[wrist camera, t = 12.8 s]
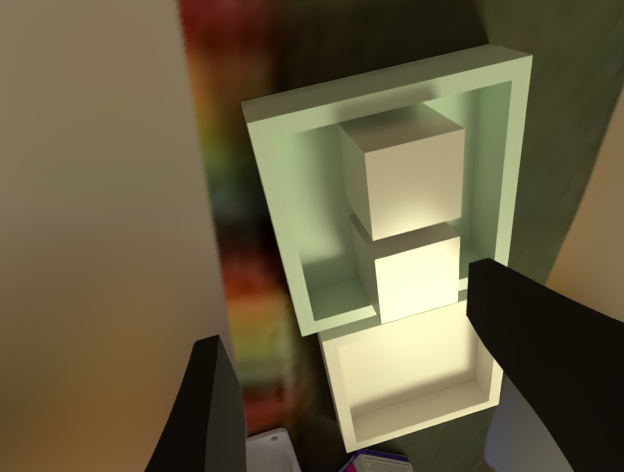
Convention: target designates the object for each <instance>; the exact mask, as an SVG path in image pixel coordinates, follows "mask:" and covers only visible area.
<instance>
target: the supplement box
mask: <svg viewBox="0 0 624 472" xmlns="http://www.w3.org/2000/svg"><path fill="white" fill-rule="evenodd" d="M338 472H414V471H413V469H412V466H411V464H410V461H409V458H408V457H407V456H403V455H397V454H391V453H385V452H379V451H374V450H369V449H362V448H361V449H358V450H357V451H356V452H355V454H354V455H353V456H352V457H351V458H350V460H349V461H348V462H347V463H346V464H345V465H344V466H343V467H342V468H341V469H340V470H339V471H338Z"/></svg>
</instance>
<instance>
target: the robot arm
mask: <svg viewBox="0 0 624 472" xmlns="http://www.w3.org/2000/svg"><path fill="white" fill-rule="evenodd" d="M466 316H467V317H468V319H469V321H470V323H471V324H472V326H473V328H474V330H475V331H476V333H477V335H478V336H479V338H480V340H481V341H482V343H483V345H484V346H485V347H486V349H487V350H488V351H489V353H490V354H491V355H492V357H493V358H494V359H495V361H496V362H497V363H498V364H499V366H500V367H501V368H502V370H503V371H504V372H505V374H506V375H507V376H508V377H509V379H510V380H511V381H512V382H513V384H514V385H515V386H516V388H517V389H518V390H519V391H520V393H521V394H522V395H523V397H524V398H525V399H526V400H527V402H528V403H529V404H530V406H531V407H532V408H533V409H534V411H535V412H536V414H537V415H538V416H539V418H540V419H541V420H542V422H543V423H544V425H545V426H546V428H547V429H548V431H549V432H550V434H551V435H552V437H553V439H554V440H555V442H556V443H557V445H558V447H559V448H560V450H561V451H562V453H563V454H564V456H565V457H566V459H567V460H568V462H569V464H570V466H571V467H572V469H573V471H574V472H624V323H623V322H621V321H618V320H616V319H614V318H611V317H609V316H606V315H604V314H602V313H600V312H598V311H595V310H593V309H591V308H588V307H586V306H584V305H582V304H580V303H578V302H576V301H573V300H571V299H569V298H567V297H565V296H563V295H561V294H559V293H557V292H555V291H553V290H551V289H549V288H547V287H545V286H543V285H541V284H539V283H537V282H535V281H533V280H532V279H530V278H528V277H526V276H524V275H522V274H520V273H518V272H516V271H514V270H512V269H511V268H509V267H507V266H505V265H503V264H501V263H499V262H497V261H495V260H493V259H491V258H489V257H488V258H485V259H481V260H478V261H474V262H471V263H469V269H468V287H467V305H466ZM144 472H301V469H300V466H299V463H298V460H297V457H296V455H295V452H294V449H293V446H292V443H291V440H290V437H289V435H288V432H287V430H286V429H285V428H277V429H274V430H271V431H268V432H264V433H261V434H258V435H255V436H252V437H248V438H245V421H244V413H243V406H242V399H241V393H240V387H239V382H238V379H237V377H236V375H235V372H234V370H233V367H232V365H231V363H230V360H229V358H228V356H227V353H226V351H225V348H224V346H223V343H222V341H221V339H220V336H219V335H215V336H212V337H208V338H205V339H201V340H198V341H196V342H195V344H194V345H193V349H192V353H191V356H190V359H189V363H188V366H187V369H186V372H185V375H184V378H183V381H182V384H181V387H180V389H179V392H178V395H177V397H176V400H175V403H174V405H173V408H172V411H171V413H170V416H169V418H168V421H167V423H166V425H165V428H164V430H163V432H162V435H161V437H160V439H159V441H158V444H157V446H156V448H155V450H154V453H153V455H152V457H151V459H150V461H149V463H148V465H147V467H146V469H145V471H144Z"/></svg>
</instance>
